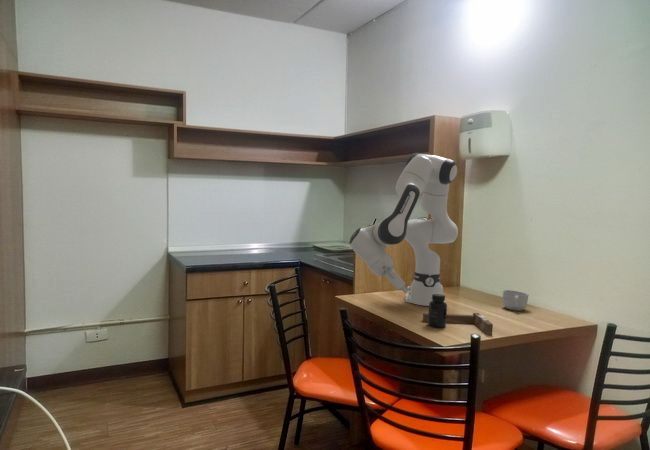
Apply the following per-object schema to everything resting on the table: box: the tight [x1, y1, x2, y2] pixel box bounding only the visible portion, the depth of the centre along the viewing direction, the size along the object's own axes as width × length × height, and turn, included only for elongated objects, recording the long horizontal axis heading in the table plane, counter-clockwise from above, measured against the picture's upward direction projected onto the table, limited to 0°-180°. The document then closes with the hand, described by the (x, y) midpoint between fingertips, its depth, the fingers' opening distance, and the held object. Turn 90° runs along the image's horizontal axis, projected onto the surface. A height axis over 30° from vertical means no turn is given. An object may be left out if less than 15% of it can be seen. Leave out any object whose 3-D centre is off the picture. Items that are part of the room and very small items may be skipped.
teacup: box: [502, 289, 529, 312], centre depth 207 cm, size 14×11×8 cm
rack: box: [422, 312, 494, 336], centre depth 174 cm, size 16×22×4 cm
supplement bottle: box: [427, 294, 448, 329], centre depth 175 cm, size 7×7×12 cm
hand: (406, 291), depth 174 cm, fingers closed
